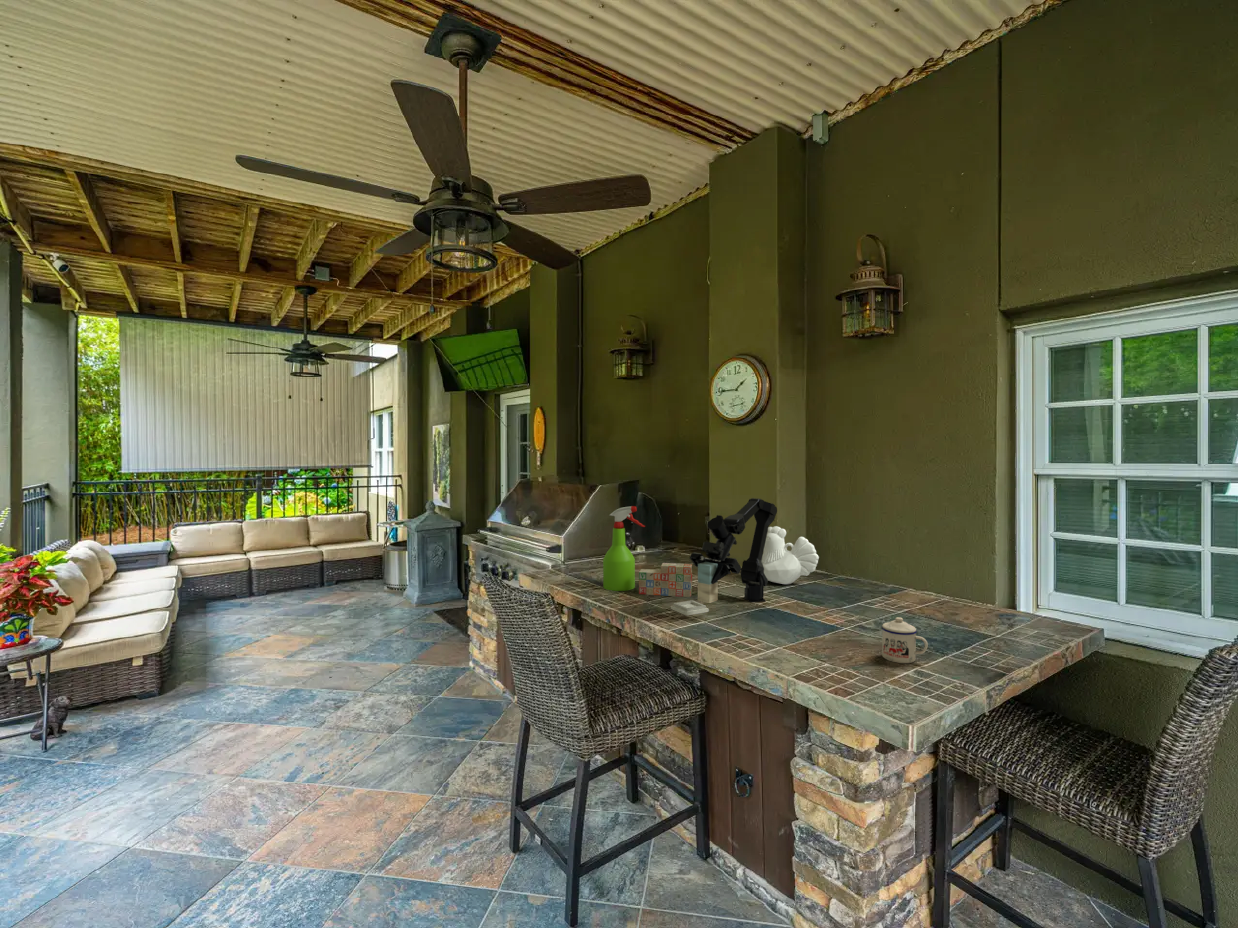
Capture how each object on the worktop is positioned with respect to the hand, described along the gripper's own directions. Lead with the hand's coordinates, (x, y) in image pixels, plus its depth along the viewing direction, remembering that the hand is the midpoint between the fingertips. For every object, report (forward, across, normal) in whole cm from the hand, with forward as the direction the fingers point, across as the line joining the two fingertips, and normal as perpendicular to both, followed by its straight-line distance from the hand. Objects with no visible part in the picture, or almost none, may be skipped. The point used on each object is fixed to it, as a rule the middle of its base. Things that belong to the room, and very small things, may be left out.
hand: (705, 582), depth 211 cm
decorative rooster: (-38, -3, +57) cm, 69 cm away
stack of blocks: (-4, -32, +23) cm, 40 cm away
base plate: (+6, -10, +13) cm, 17 cm away
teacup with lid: (+6, +64, +13) cm, 66 cm away
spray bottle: (-1, -52, +20) cm, 56 cm away
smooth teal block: (+4, 0, +6) cm, 7 cm away
